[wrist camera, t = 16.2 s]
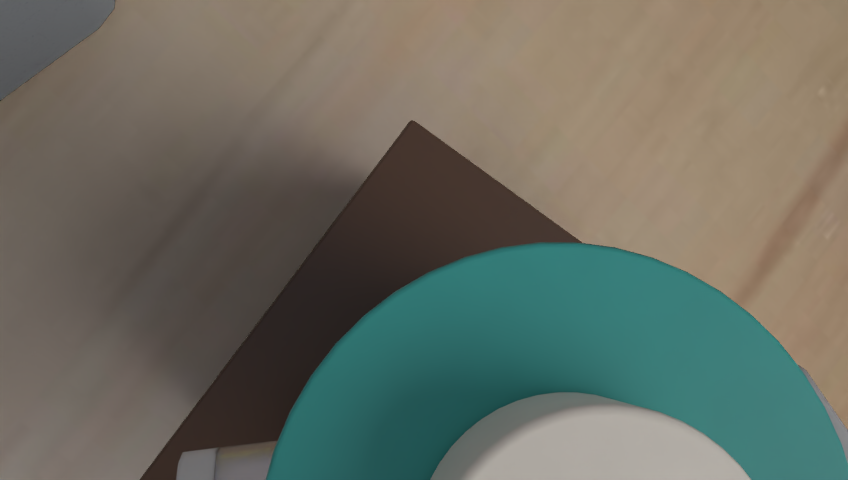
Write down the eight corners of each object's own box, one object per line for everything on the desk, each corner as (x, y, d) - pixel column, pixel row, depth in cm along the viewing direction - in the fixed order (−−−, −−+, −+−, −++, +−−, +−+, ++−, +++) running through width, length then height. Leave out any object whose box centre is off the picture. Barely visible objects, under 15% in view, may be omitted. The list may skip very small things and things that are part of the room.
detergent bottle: (608, 559, 18) (1031, 968, 6) (331, 584, 17) (243, 1069, 6) (582, 284, 18) (922, 198, 7) (315, 302, 18) (209, 243, 7)
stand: (468, 620, 26) (516, 769, 17) (216, 434, 26) (134, 485, 17) (640, 363, 27) (770, 378, 18) (400, 188, 27) (411, 118, 19)
